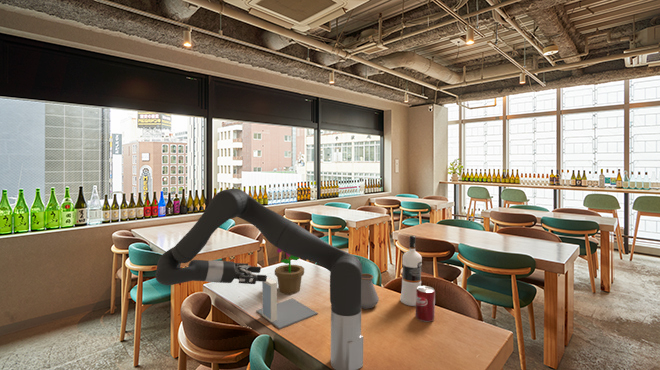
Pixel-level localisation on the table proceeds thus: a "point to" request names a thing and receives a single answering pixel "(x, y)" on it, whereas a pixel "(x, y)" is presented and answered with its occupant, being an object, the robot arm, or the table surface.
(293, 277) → the flowerpot
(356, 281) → the robot arm
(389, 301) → the table surface
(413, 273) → the vodka
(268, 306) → the slate tablet
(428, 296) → the soda can
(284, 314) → the rubber mat
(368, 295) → the coffee pot
